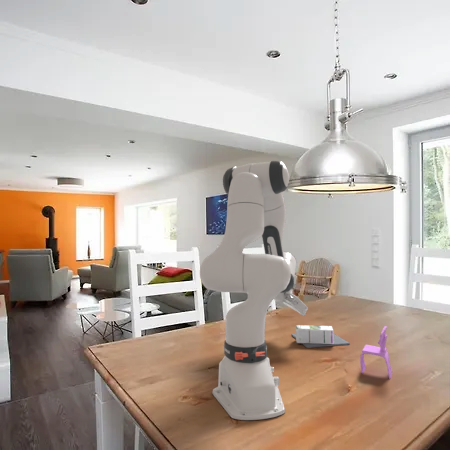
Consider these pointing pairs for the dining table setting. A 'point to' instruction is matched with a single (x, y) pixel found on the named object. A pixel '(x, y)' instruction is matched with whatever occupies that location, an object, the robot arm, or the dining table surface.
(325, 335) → the syrup box
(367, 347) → the toy chair
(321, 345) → the slate rubber mat
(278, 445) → the dining table surface
